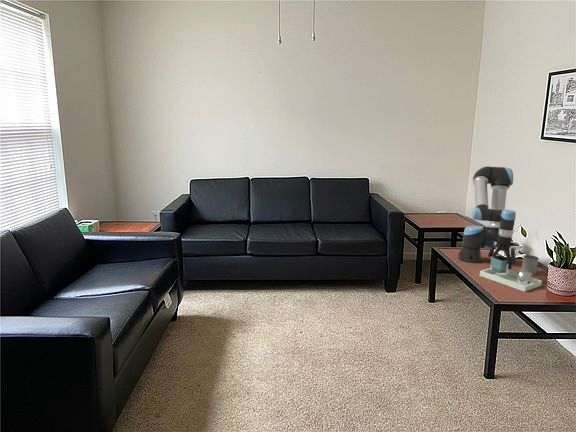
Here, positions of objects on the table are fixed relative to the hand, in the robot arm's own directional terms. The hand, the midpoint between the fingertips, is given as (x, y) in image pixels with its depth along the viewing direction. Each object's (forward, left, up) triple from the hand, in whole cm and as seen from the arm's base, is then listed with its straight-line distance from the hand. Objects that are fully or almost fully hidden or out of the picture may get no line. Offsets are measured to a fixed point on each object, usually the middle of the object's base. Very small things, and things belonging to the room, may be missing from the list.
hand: (499, 271), depth 268 cm
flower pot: (0, 0, -1) cm, 1 cm away
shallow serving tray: (+7, 0, -4) cm, 8 cm away
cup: (+3, +29, -5) cm, 30 cm away
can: (+15, 0, -3) cm, 15 cm away
